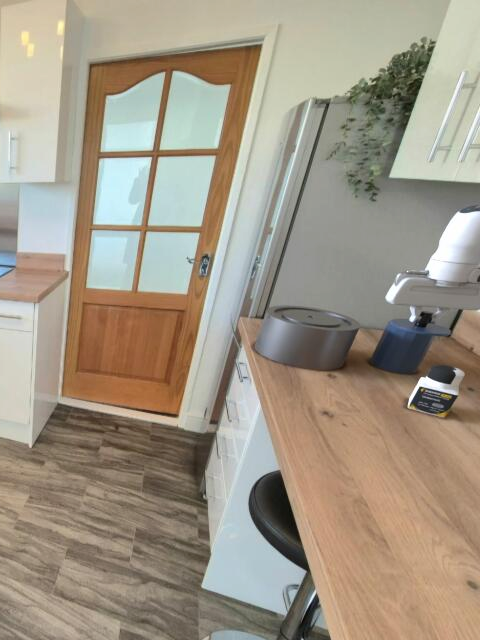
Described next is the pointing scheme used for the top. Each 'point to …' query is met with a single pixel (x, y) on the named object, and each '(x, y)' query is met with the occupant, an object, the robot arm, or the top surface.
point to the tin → (400, 350)
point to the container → (306, 337)
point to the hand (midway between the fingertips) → (422, 322)
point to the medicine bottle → (437, 390)
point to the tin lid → (421, 325)
